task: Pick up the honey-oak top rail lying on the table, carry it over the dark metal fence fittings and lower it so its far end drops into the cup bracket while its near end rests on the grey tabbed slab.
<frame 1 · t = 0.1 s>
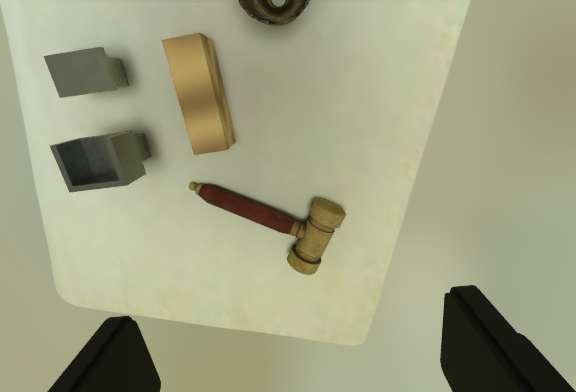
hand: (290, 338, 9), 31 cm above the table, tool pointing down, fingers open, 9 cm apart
grey tabbed slab: (97, 73, 33), on the table
gavel: (262, 208, 42), on the table
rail: (209, 96, 36), on the table
cup bracket: (116, 155, 34), on the table
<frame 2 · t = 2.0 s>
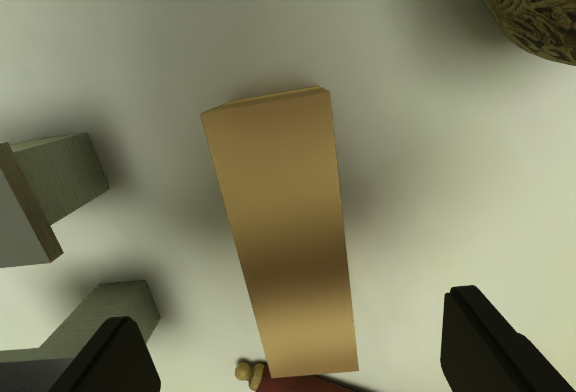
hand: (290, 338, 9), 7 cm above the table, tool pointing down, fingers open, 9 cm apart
grey tabbed slab: (19, 186, 12), on the table
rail: (295, 209, 16), on the table
cup bracket: (77, 373, 14), on the table
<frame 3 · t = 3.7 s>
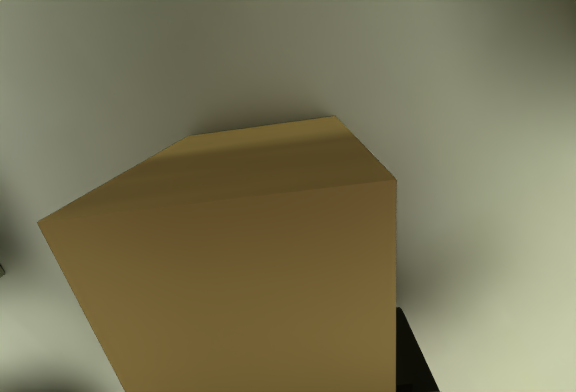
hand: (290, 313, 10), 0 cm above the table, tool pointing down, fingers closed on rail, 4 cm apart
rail: (290, 302, 10), on the table, touching gripper
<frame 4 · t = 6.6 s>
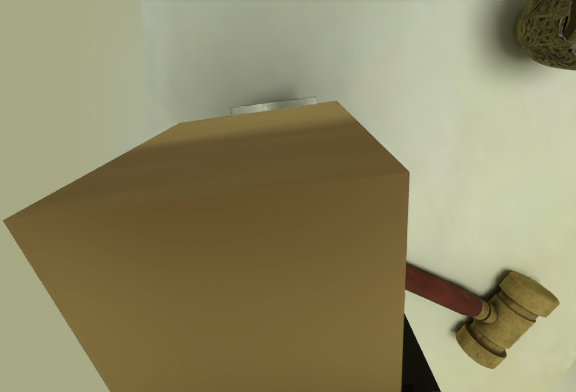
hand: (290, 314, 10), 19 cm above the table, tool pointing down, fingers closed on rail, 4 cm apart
grey tabbed slab: (279, 125, 24), on the table
cup: (532, 26, 23), on the table
gavel: (428, 278, 33), on the table
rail: (289, 294, 10), point 19 cm above the table, touching gripper
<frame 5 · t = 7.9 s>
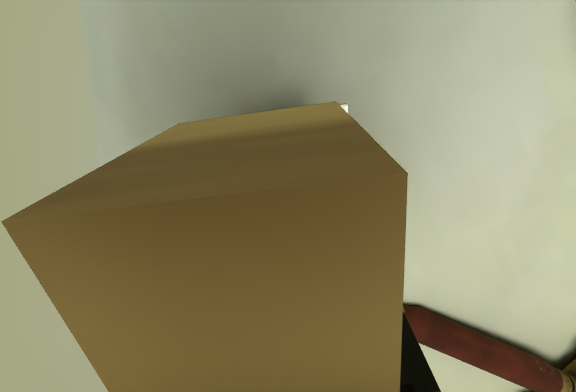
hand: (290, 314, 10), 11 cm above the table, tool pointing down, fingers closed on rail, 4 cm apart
gavel: (483, 337, 25), on the table
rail: (288, 294, 10), point 11 cm above the table, touching gripper
when the fingers open (7 cm above the table, at t = 9.3 s): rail drops 1 cm, resting on cup bracket, grey tabbed slab.
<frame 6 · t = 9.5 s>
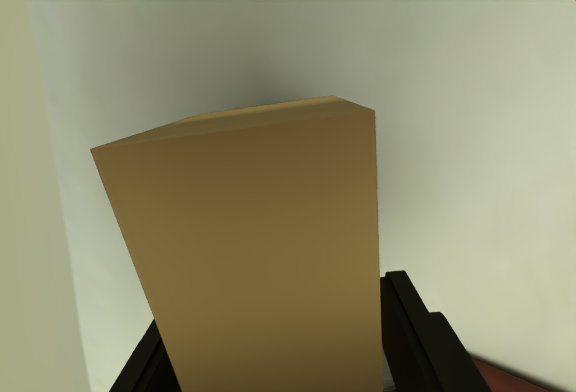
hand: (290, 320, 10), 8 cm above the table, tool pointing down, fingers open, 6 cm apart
gavel: (509, 376, 21), on the table
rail: (291, 273, 11), point 6 cm above the table, touching cup bracket, grey tabbed slab
cup bracket: (305, 355, 14), on the table
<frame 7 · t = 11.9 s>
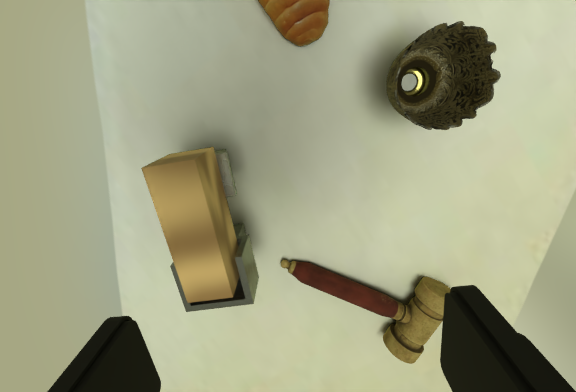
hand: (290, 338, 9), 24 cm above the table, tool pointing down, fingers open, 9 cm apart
grey tabbed slab: (207, 171, 29), on the table
cup: (407, 82, 29), on the table
gavel: (356, 285, 38), on the table
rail: (208, 212, 28), point 6 cm above the table, touching cup bracket, grey tabbed slab
cup bracket: (224, 257, 31), on the table
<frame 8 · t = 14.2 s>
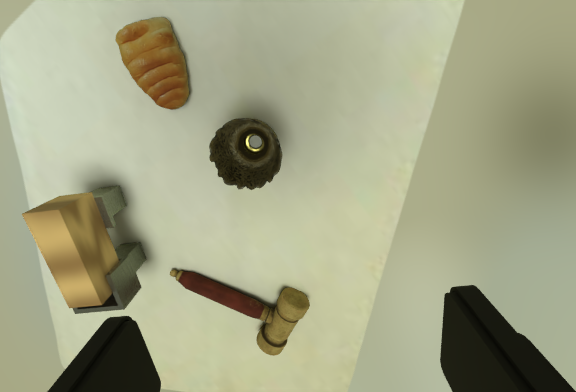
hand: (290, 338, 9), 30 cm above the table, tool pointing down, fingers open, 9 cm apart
grey tabbed slab: (99, 205, 38), on the table
cup: (255, 141, 37), on the table
gavel: (236, 291, 47), on the table
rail: (94, 239, 36), point 6 cm above the table, touching cup bracket, grey tabbed slab
cup bracket: (115, 271, 39), on the table
pastry: (162, 61, 35), on the table
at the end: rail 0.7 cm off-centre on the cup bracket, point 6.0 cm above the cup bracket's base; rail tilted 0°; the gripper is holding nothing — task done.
